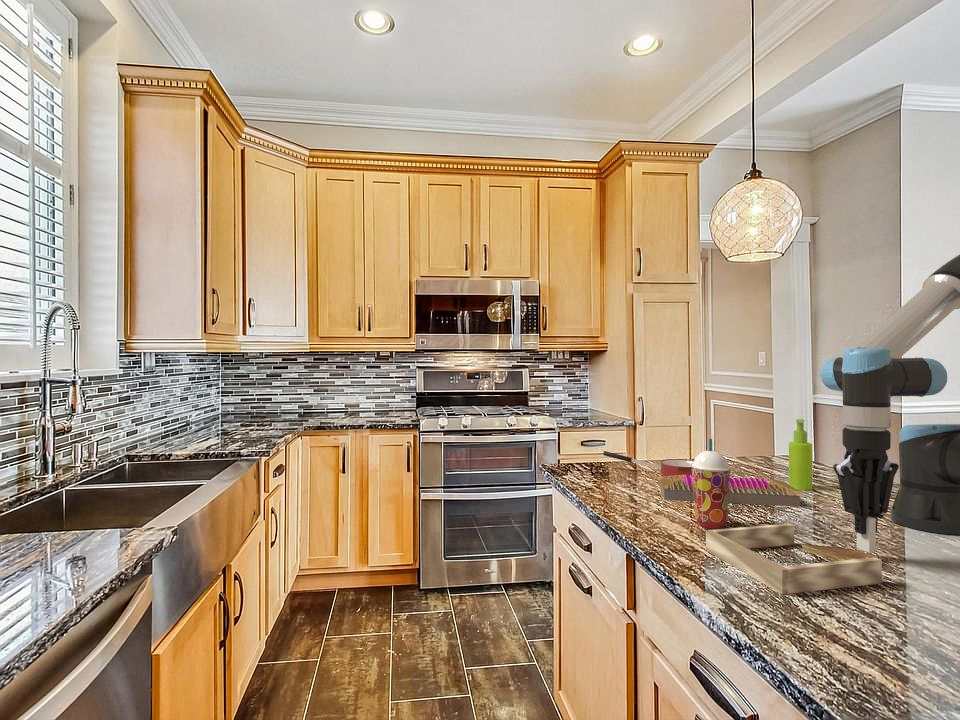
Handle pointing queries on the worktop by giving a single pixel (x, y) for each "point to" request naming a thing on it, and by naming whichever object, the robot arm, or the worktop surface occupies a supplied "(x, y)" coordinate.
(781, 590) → the box
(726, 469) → the smoothie
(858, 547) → the robot arm
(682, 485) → the pink bristle brush
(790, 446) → the soap dispenser
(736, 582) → the worktop surface
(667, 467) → the frying pan
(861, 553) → the shard
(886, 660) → the worktop surface
